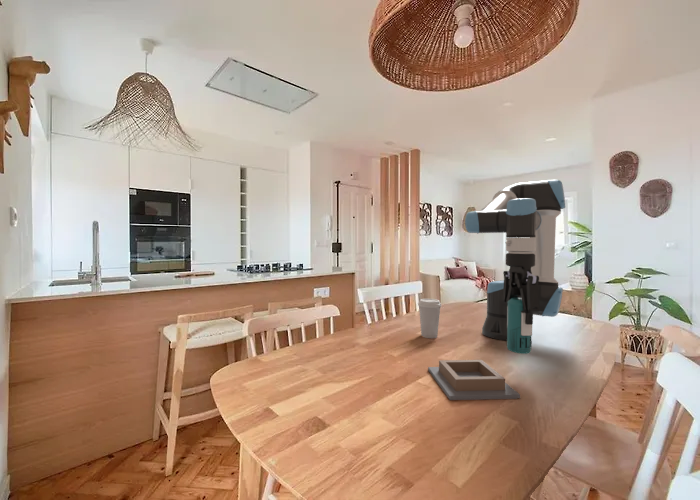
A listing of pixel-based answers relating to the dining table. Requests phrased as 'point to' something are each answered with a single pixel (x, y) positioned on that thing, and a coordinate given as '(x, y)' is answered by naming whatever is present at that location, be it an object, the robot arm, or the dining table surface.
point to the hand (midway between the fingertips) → (519, 331)
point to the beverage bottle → (516, 326)
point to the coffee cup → (429, 317)
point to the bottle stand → (471, 380)
